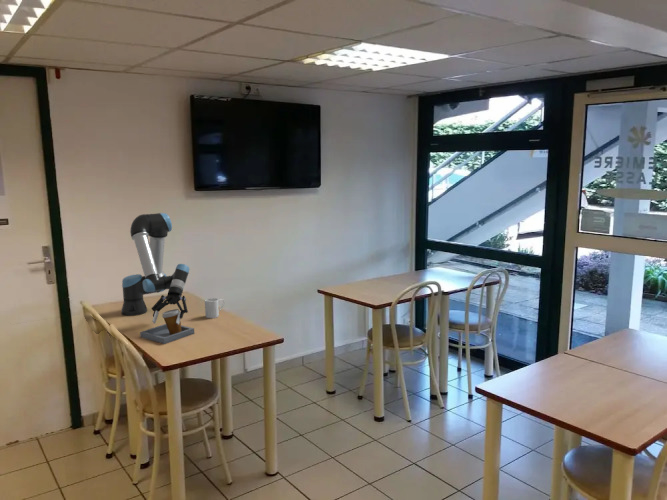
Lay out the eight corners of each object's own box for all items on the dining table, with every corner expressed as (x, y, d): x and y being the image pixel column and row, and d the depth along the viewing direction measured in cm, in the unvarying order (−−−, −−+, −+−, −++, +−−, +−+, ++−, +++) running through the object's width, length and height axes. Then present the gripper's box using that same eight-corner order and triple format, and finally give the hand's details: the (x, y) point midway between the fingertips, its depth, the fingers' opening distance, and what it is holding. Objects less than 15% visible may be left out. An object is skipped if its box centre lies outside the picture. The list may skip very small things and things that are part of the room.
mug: (208, 319, 318) (207, 302, 317) (203, 316, 325) (202, 299, 323) (227, 315, 325) (226, 299, 324) (222, 312, 332) (221, 296, 330)
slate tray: (140, 337, 287) (140, 332, 286) (170, 327, 303) (170, 322, 302) (164, 344, 276) (164, 338, 275) (194, 333, 292) (194, 328, 291)
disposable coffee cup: (187, 328, 294) (182, 307, 293) (180, 333, 285) (174, 312, 283) (171, 331, 296) (166, 310, 294) (163, 336, 286) (158, 315, 285)
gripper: (199, 293, 300) (189, 327, 288) (158, 291, 304) (146, 325, 292) (195, 286, 294) (184, 320, 282) (153, 284, 297) (141, 318, 285)
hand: (165, 323), depth 287 cm, fingers open, 13 cm apart
